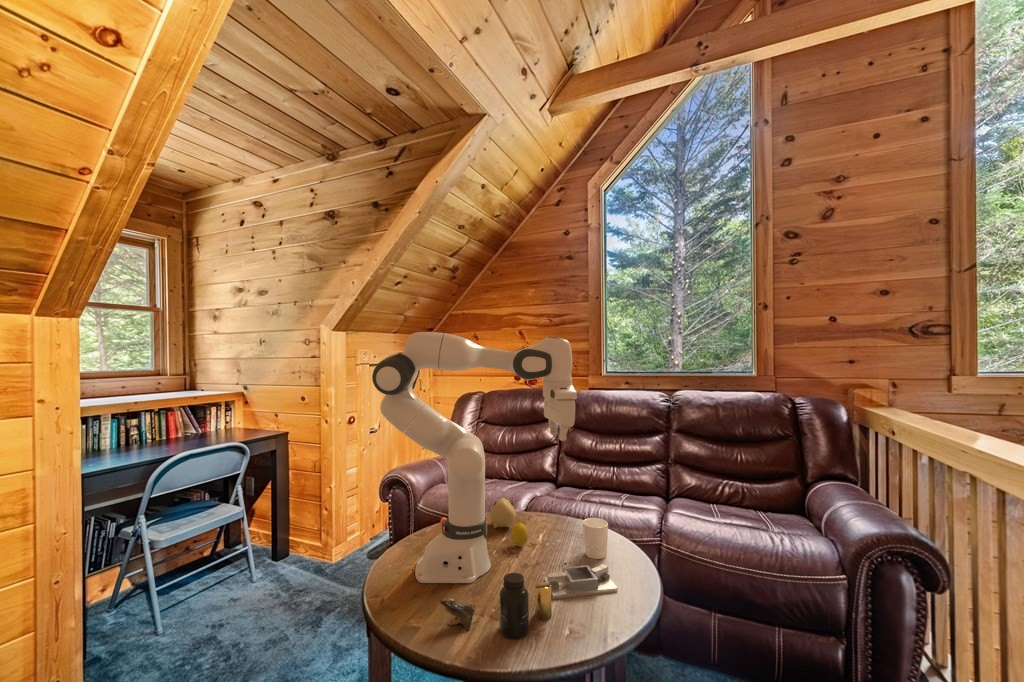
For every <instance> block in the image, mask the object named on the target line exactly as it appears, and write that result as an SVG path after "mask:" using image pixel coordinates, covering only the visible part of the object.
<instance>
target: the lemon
mask: <svg viewBox="0 0 1024 682" xmlns="http://www.w3.org/2000/svg"><path fill="white" fill-rule="evenodd" d="M528 533H529V532H528V528H527V526H526V525H525V524H524V523H522V522H520V521H518V522H517V523H514V524H513V525H512V526H511V532H510V536H511V541H512V542H513V543H514V544H515V545H517V547H522V546H523V545H524V544H526V542H527V540H528Z"/></svg>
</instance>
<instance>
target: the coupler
mask: <svg viewBox="0 0 1024 682" xmlns="http://www.w3.org/2000/svg"><path fill="white" fill-rule="evenodd" d="M534 607H535V608H534V609H535V610H534V612H535V613H534V614H535V618H536V619H537V620H538V621H549V620H551V618H552V617H553V615H552V613H553V612H552V611H553V610H552V609H553V608H552V596H551V585H550V584H549V583H547V582H545V581H539V582H537V583H535V585H534Z"/></svg>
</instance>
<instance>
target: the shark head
mask: <svg viewBox="0 0 1024 682" xmlns="http://www.w3.org/2000/svg"><path fill="white" fill-rule="evenodd" d="M439 603H440V604H441V605H442V606H443V608H444V611H445V612H446V613H447V614H449V615H451V616H453V617H452V618H450V619H449V620H448V625H449V626H450V625H452V626H454V625H459V624H462V625H463V627H464V628H465V629H466V631H470V630H471V625H472V621H473V616H474V615H475V607H473V606H472V605H463V604H462V603H460V602H458V601H456V600H439Z"/></svg>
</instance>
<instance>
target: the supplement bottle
mask: <svg viewBox="0 0 1024 682" xmlns="http://www.w3.org/2000/svg"><path fill="white" fill-rule="evenodd" d="M502 583H503V584H502V588H501V589H500V590H499V598H498V599H499V631H500V633H501V634H502V636H504V637H506V638H508V639H512V640H515V639H521V638H523V637H524V636H525V635H527V633H528V631H529V628H530V627H529V625H530V624H529V619H530V618H529V616H530V615H529V614H530V613H529V610H530V609H529V602H530V601H529V591H528V589H527V588H526V587H525V577H524V575H523V574H521V573H519V572H510V573H507V574H505V575H504V576H503V582H502Z"/></svg>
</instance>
